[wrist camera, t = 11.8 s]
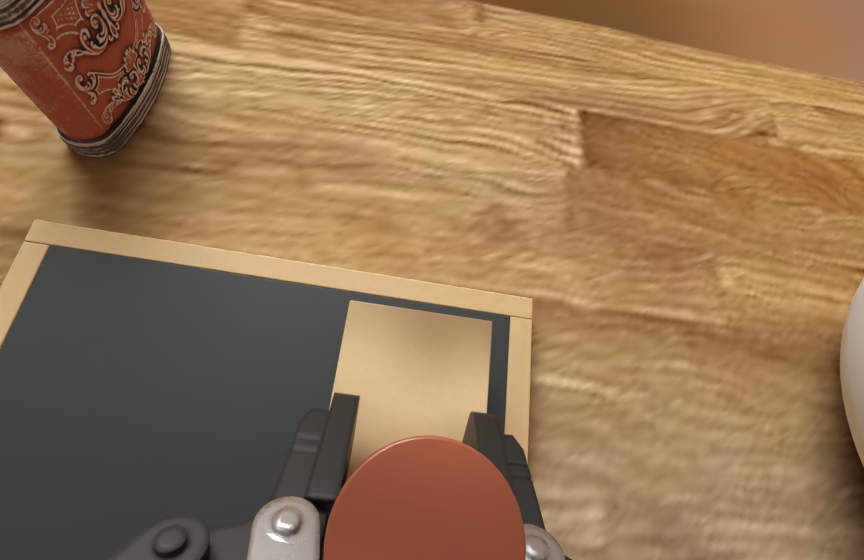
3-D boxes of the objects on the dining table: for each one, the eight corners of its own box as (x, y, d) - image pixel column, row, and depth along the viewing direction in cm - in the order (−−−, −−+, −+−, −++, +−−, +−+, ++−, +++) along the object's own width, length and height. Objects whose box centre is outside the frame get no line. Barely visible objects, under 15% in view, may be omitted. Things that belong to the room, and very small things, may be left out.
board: (-199, 749, 13) (-252, 777, 12) (52, 232, 19) (34, 218, 18) (505, 791, 15) (517, 818, 14) (524, 306, 21) (533, 298, 20)
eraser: (442, 708, 15) (588, 1182, 5) (284, 696, 14) (118, 1191, 5) (471, 344, 19) (577, 231, 10) (352, 326, 19) (339, 190, 9)
